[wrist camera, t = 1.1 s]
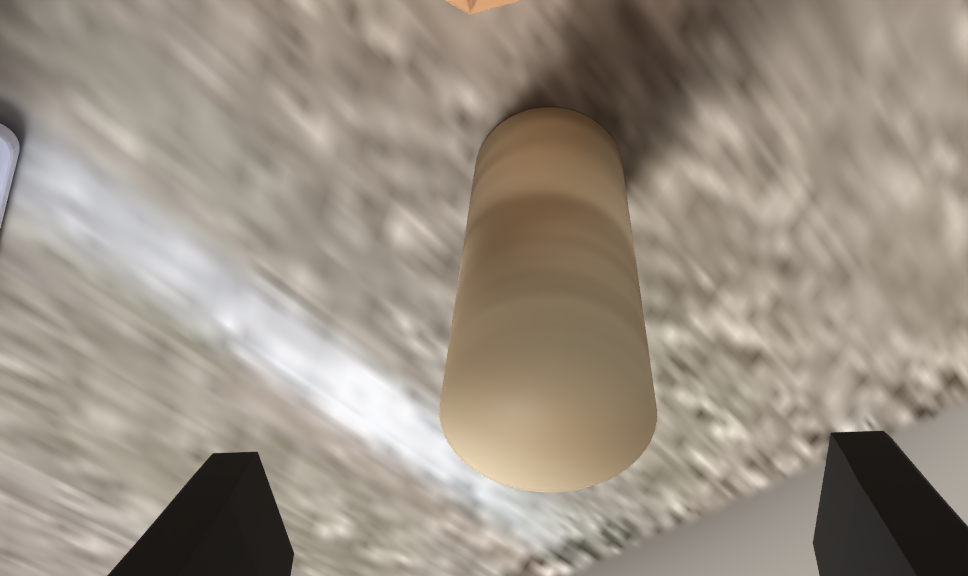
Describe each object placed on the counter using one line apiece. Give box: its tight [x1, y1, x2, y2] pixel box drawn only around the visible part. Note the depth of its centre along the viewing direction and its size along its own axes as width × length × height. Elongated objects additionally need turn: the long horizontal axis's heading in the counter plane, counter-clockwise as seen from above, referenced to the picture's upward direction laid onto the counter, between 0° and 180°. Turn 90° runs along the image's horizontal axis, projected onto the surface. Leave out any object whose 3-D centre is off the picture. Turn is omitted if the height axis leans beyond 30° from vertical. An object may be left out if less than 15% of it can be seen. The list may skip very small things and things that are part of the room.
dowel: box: [440, 107, 657, 492], centre depth 17 cm, size 3×3×8 cm
